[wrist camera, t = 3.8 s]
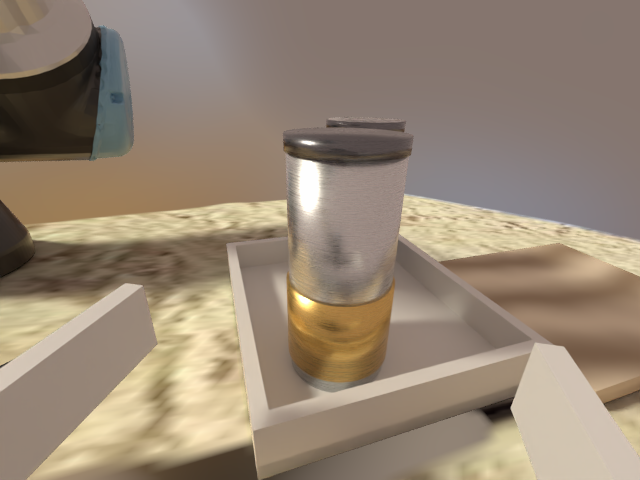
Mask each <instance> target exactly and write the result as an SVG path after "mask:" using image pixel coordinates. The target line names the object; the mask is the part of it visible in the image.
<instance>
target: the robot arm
mask: <svg viewBox="0 0 640 480" xmlns="http://www.w3.org/2000/svg"><path fill="white" fill-rule="evenodd" d="M133 128H134V127H133V111H132V100H131V91H130V82H129V74H128V67H127V61H126V55H125V50H124V45H123V41H122V39H121V37H120V35H119V33H118V32H116V31H115V30H113V29H108V28H107V27H105V26H99V27H97V28H95V27H94V25H93V22H92V20H91V17H90V15H89V12H88V10H87V8H86V6H85V4H84V3H83V1H82V0H0V162H20V161H21V162H22V161H62V160H63V161H65V160H89V161H94V160H96V159H97V158H108V157H119V156H123V155H125V154H127V153H128V152H129V151H130V150H131V148H132V146H133V141H134V129H133ZM34 253H35V246H34V244H33V241H32V239H31V236H30V233H29V232H28V230H27V229H26V227H25V226H24V225H23V224H22V223H21V222H20V221H19V220H18V219H17V218H16V216H15V215H14V214H13V213H12V212H11V211H10V210H9V209H8V208H7V207H6V206H5V204H4V203H3V202H2V201H1V200H0V277H1V276H3V275H5V274H7V273H9V272H11V271H13V270H15V269H16V268H18V267H20V266H21V265H23V264H24V263H25V262H27V261H28V260H29V259H30V258H31V257H32V256H33V254H34ZM156 345H157V340H156V336H155V332H154V328H153V323H152V319H151V315H150V311H149V307H148V303H147V299H146V295H145V291H144V286H143V285H136V284H129V283H125V284H123V285H122V286H120V287H119V288H117V289H116V290H114V291H113V292H111V293H110V294H109V295H107V296H106V297H104V298H103V299H101V300H100V301H98V302H97V303H95V304H94V305H92V306H91V307H89V308H88V309H87V310H85V311H84V312H82V313H81V314H79V315H78V316H76V317H75V318H73V319H72V320H70V321H69V322H68V323H66V324H65V325H63V326H62V327H60V328H59V329H57V330H56V331H54V332H53V333H51V334H50V335H49V336H47V337H46V338H44V339H43V340H41V341H40V342H38V343H37V344H35V345H34V346H32V347H31V348H30V349H28V350H27V351H25V352H24V353H22V354H21V355H19V356H18V357H16V358H15V359H13V360H11V361H9V362H7V363H5V364H3V365H1V366H0V480H26V479H27V478H28V477H29V476H30V475H31V474H32V473H33V472H34V471H35V470H36V469H37V468H38V467H39V466H40V465H41V464H42V463H43V462H44V461H45V460H46V459H47V457H48V456H49V455H50V454H51V453H52V452H53V451H54V450H55V449H56V448H57V447H58V446H59V445H60V444H61V443H62V442H63V441H64V440H65V439H66V438H67V437H68V436H69V435H70V434H71V433H72V432H73V431H74V430H75V429H76V428H77V426H78V425H79V424H80V423H81V422H82V421H83V420H84V419H85V418H86V417H87V416H88V415H89V414H90V413H91V412H92V411H93V410H94V409H95V408H96V407H97V406H98V405H99V404H100V403H101V402H102V401H103V400H104V399H105V398H106V397H107V396H108V394H109V393H110V392H111V391H112V390H113V389H114V388H115V387H116V386H117V385H118V384H119V383H120V382H121V381H122V380H123V379H124V378H125V377H126V376H127V375H128V374H129V373H130V372H131V371H132V370H133V369H134V368H135V367H136V366H137V365H138V363H139V362H140V361H141V360H142V359H143V358H144V357H145V356H146V355H147V354H148V353H149V352H150V351H151V350H152V349H153V348H154V347H155V346H156ZM511 411H512V413H513V416H514V419H515V421H516V424H517V427H518V429H519V432H520V435H521V437H522V440H523V443H524V445H525V448H526V451H527V453H528V456H529V459H530V462H531V464H532V467H533V470H534V472H535V475H536V478H537V480H640V457H639V456H638V454H637V453H636V451H635V450H634V448H633V447H632V445H631V444H630V442H629V441H628V440H627V438H626V437H625V435H624V434H623V432H622V431H621V429H620V428H619V426H618V425H617V423H616V422H615V420H614V419H613V418H612V416H611V415H610V413H609V412H608V410H607V409H606V407H605V406H604V404H603V403H602V401H601V400H600V398H599V397H598V396H597V394H596V393H595V391H594V390H593V388H592V387H591V385H590V384H589V382H588V381H587V379H586V378H585V376H584V375H583V374H582V372H581V371H580V369H579V368H578V366H577V365H576V363H575V362H574V360H573V359H572V357H571V356H570V354H569V353H568V352H567V350H566V349H565V347H563V346H556V345H549V344H542V343H536V342H535V344H534V346H533V349H532V352H531V354H530V357H529V360H528V363H527V365H526V368H525V371H524V373H523V376H522V379H521V381H520V384H519V387H518V389H517V392H516V395H515V398H514V400H513V403H512V406H511Z"/></svg>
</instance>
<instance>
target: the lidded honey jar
mask: <svg viewBox="0 0 640 480" xmlns="http://www.w3.org/2000/svg"><path fill="white" fill-rule="evenodd" d="M283 141H284V142H283V144H284V152H286V179H287V180H286V181H287V219H288V258H289V271H288V273H287V277H286V280H287V314H288V346H289V353H290V355H291V362H292V366H293V368H294V370H295V372H296V373H297V375H298V376H299V377H300V378H301V379H302V380H303V381H304V382H306V383H307V384H309V385H310V386H312V387H314V388H316V389H319V390H322V391H326V392H331V393H334V392H338V391H341V390H345V389H349V388H353V387H356V386H360V385H364V384H368V383H371V382H373V381H374V380H375V379H376V378H377V376H378V375H379V373H380V371H381V368H382V363H383V362H384V360H385V356H386V350H387V343H388V335H389V327H390V320H391V312H392V304H393V297H394V289H395V279H394V268H395V260H396V252H397V244H398V236H399V228H400V221H401V213H402V205H403V197H404V189H405V181H406V173H407V166H408V157H409V156H410V155H411V151H412V143H413V135H412V134H409V133H404V132H399V131H391V130H381V129H366V128H303V129H293V130H287V131H284V133H283Z"/></svg>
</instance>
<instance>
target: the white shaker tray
mask: <svg viewBox="0 0 640 480" xmlns="http://www.w3.org/2000/svg"><path fill="white" fill-rule="evenodd" d="M226 245H227V254H228V263H229V272H230V279H231V287H232V294H233V301H234V308H235V316H236V323H237V330H238V338H239V345H240V352H241V359H242V367H243V374H244V381H245V388H246V396H247V403H248V410H249V418H250V425H251V432H252V439H253V447H254V454H255V461H256V468H257V475H258V480H261V479H265V478H268V477H271V476H274V475H277V474H280V473H283V472H286V471H289V470H292V469H295V468H298V467H301V466H304V465H307V464H310V463H313V462H316V461H319V460H322V459H326V458H328V457H332V456H335V455H337V454H341V453H344V452H347V451H350V450H353V449H356V448H359V447H362V446H365V445H368V444H371V443H374V442H377V441H380V440H383V439H386V438H389V437H392V436H396V435H398V434H402V433H404V432H408V431H411V430H414V429H417V428H420V427H423V426H426V425H429V424H432V423H435V422H438V421H441V420H444V419H447V418H450V417H454V416H457V415H460V414H463V413H466V412H469V411H472V410H475V409H478V408H481V407H484V406H487V405H490V404H493V403H496V402H499V401H502V400H505V399H508V398H511V397H515V395H516V392H517V389H518V387H519V384H520V381H521V379H522V376H523V373H524V371H525V368H526V365H527V363H528V360H529V357H530V354H531V352H532V349H533V346H534V344H535V342H536V343H542V344H549V345H553V344H552V343H551V342H549V341H548V340H546V339H545V338H544V337H542V336H541V335H539V334H538V333H537V332H535V331H534V330H532V329H531V328H530V327H528V326H527V325H525V324H524V323H523V322H521V321H520V320H518V319H517V318H516V317H514V316H513V315H511V314H510V313H509V312H507V311H506V310H504V309H503V308H502V307H500V306H499V305H497V304H496V303H495V302H493V301H492V300H490V299H489V298H488V297H486V296H485V295H483V294H482V293H481V292H479V291H478V290H477V289H475V288H474V287H472V286H471V285H470V284H468V283H467V282H465V281H464V280H463V279H461V278H460V277H458V276H457V275H456V274H454V273H453V272H451V271H450V270H449V269H447V268H446V267H444V266H443V265H442V264H440V263H439V262H437V261H436V260H435V259H433V258H432V257H430V256H429V255H428V254H426V253H425V252H423V251H422V250H421V249H419V248H418V247H416V246H415V245H414V244H412V243H411V242H409V241H408V240H407V239H405V238H404V237H403V236H401V235H400V234H399V236H398V244H397V252H396V260H395V268H394V279H395V289H394V297H393V304H392V312H391V320H390V327H389V335H388V343H387V350H386V356H385V360H384V362H383V363H382V368H381V371H380V373H379V375H378V376H377V378H376V379H375V380H374V381H373V382H371V383H368V384H364V385H360V386H356V387H353V388H349V389H345V390H341V391H338V392H334V393H331V392H326V391H322V390H319V389H316V388H314V387H312V386H310V385H309V384H307V383H306V382H304V381H303V380H302V379H301V378H300V377H299V376H298V375H297V373H296V372H295V370H294V368H293V366H292V362H291V355H290V353H289V346H288V314H287V280H286V277H287V273H288V271H289V258H288V236H287V237H278V238H269V239H260V240H251V241H242V242H233V243H226Z"/></svg>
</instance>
